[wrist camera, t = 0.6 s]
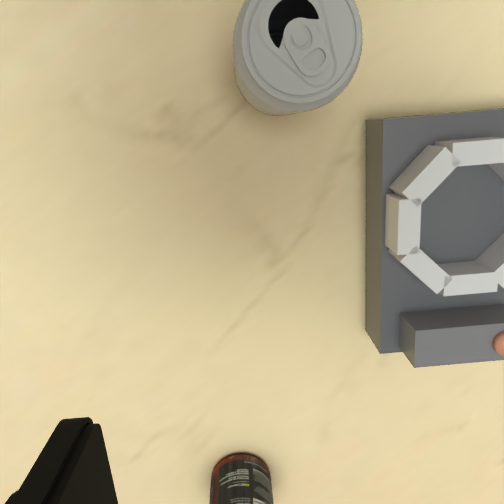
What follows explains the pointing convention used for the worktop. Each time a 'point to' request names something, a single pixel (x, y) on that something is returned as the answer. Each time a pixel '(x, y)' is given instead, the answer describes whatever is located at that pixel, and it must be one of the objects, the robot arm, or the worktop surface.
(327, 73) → the beverage can
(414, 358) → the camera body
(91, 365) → the worktop surface
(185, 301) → the worktop surface
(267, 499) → the supplement bottle
